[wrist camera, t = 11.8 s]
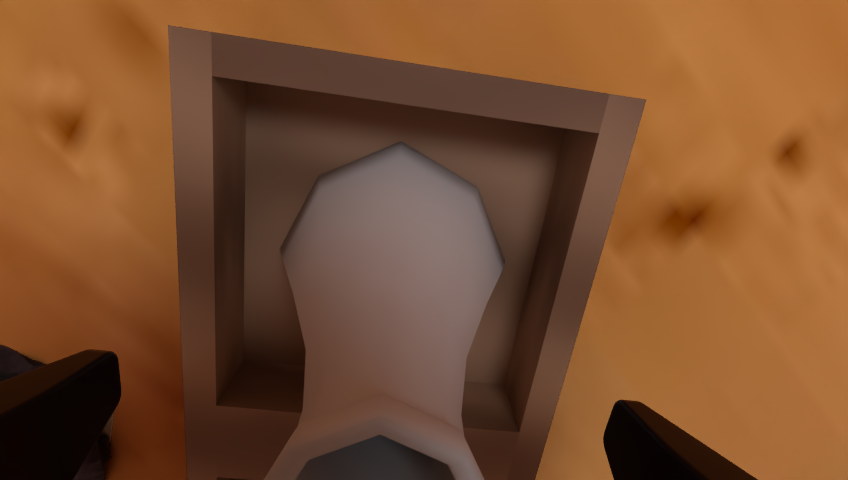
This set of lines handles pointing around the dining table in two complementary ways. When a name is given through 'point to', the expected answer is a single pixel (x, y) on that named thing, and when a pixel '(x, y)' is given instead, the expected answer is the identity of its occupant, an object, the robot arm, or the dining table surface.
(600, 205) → the cruet stand
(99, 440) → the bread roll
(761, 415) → the dining table surface
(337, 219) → the flask
